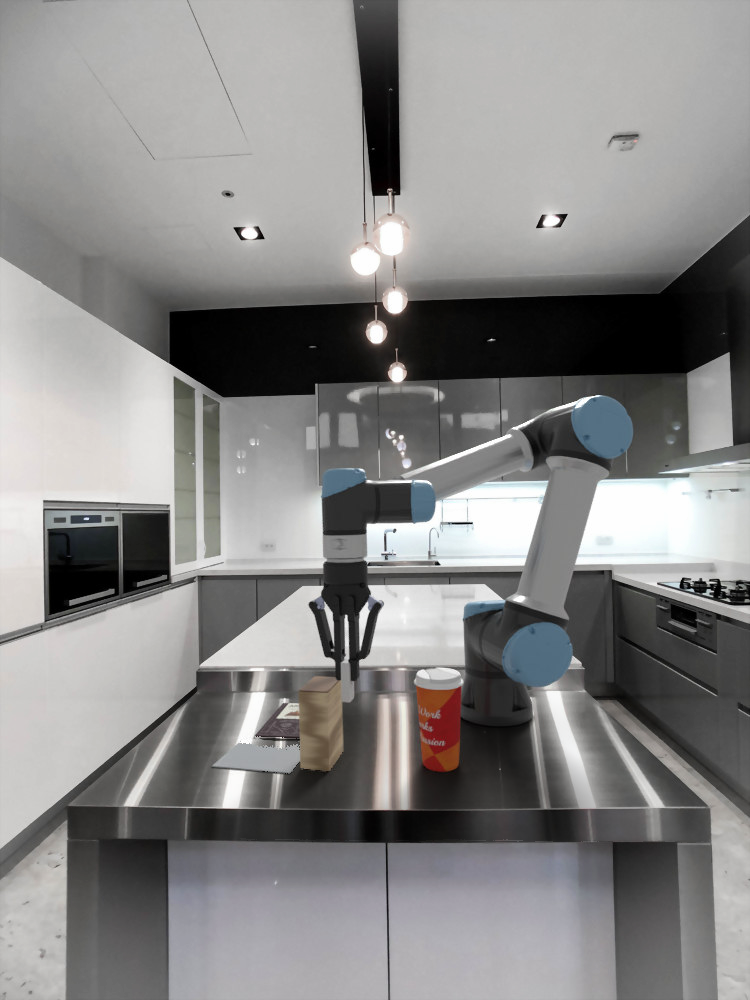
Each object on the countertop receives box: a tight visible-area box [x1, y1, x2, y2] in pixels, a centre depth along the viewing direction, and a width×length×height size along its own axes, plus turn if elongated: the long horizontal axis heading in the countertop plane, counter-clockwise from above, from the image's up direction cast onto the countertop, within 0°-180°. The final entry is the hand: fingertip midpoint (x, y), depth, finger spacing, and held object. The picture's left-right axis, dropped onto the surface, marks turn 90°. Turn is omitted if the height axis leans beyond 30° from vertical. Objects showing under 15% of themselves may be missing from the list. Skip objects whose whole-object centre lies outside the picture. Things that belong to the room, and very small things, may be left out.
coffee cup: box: [413, 667, 464, 773], centre depth 96 cm, size 8×8×15 cm
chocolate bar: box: [254, 702, 300, 739], centre depth 117 cm, size 9×1×18 cm
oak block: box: [298, 675, 344, 772], centre depth 98 cm, size 5×8×13 cm, turn 167°
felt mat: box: [211, 740, 300, 775], centre depth 101 cm, size 14×12×1 cm
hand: (347, 699), depth 97 cm, fingers closed
